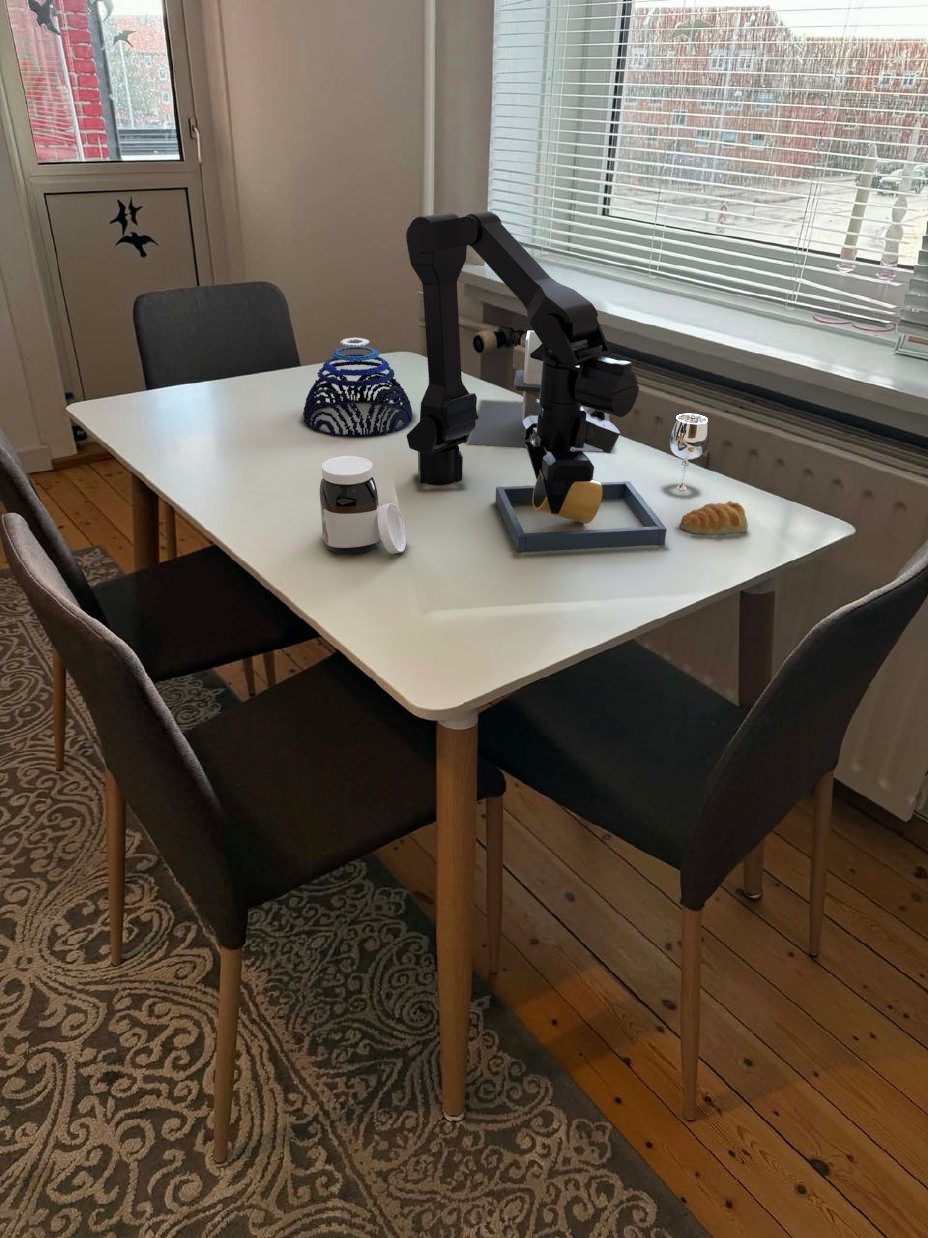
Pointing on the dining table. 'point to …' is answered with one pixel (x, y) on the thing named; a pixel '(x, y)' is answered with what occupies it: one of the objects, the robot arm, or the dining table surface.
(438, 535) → the dining table surface
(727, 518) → the pastry
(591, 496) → the tapered yellow cylinder
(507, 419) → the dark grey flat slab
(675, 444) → the wineglass
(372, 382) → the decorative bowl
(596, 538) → the blue tray
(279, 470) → the dining table surface
